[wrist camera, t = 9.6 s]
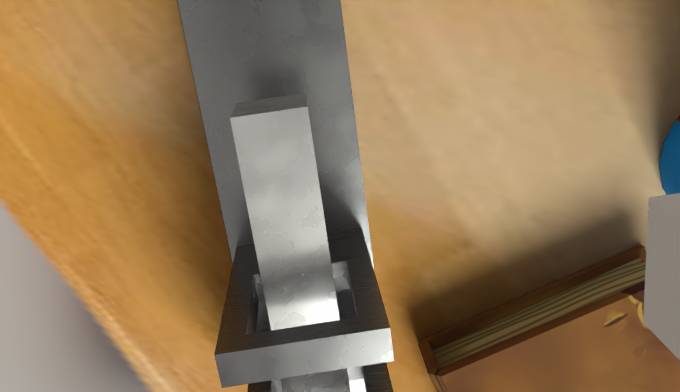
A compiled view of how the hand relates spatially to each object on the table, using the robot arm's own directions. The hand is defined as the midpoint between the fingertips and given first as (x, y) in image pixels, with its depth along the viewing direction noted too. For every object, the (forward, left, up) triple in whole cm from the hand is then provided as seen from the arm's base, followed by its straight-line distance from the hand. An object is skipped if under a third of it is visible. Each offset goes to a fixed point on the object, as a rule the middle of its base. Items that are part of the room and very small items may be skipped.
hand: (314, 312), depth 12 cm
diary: (+30, +18, -32) cm, 48 cm away
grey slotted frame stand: (+8, -2, -32) cm, 33 cm away
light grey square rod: (+13, -2, -25) cm, 29 cm away
